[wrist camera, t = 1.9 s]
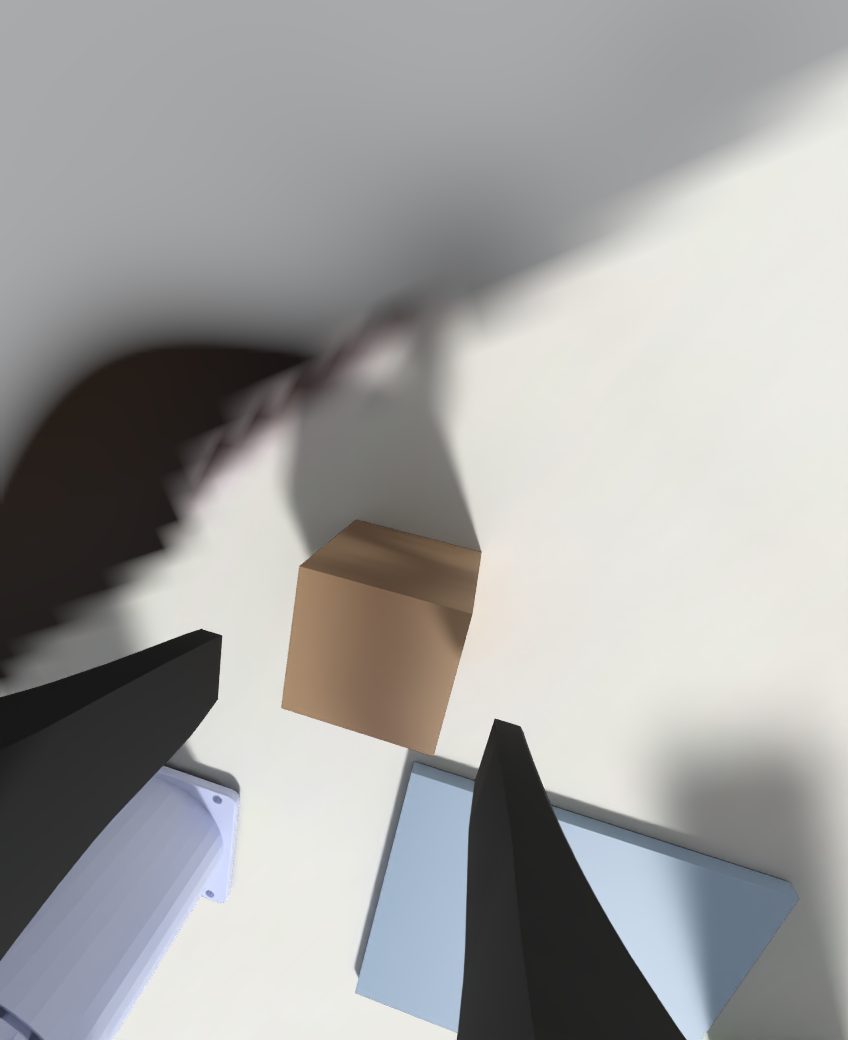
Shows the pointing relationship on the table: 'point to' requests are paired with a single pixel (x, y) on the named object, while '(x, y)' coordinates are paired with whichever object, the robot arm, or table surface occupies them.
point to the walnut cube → (380, 633)
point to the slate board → (614, 880)
